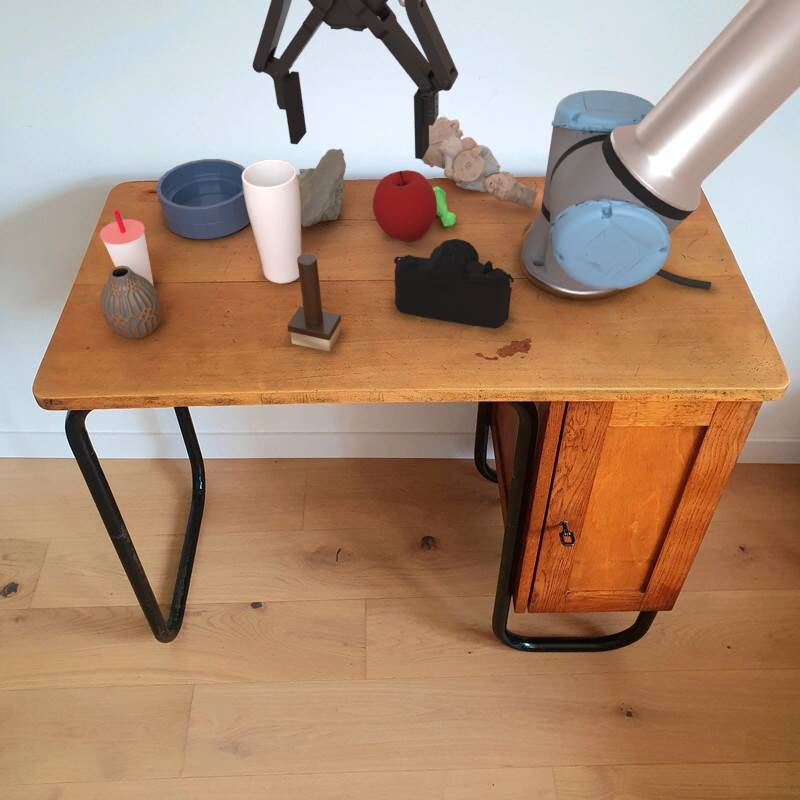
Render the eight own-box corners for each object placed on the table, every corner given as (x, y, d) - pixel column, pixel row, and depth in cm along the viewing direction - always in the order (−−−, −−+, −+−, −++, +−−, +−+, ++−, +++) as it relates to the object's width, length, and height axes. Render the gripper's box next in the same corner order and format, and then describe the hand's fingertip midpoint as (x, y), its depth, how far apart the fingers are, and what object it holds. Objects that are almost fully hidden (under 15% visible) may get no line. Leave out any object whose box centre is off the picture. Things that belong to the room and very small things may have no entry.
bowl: (271, 199, 116) (266, 166, 112) (231, 249, 108) (224, 215, 104) (192, 185, 119) (185, 153, 115) (148, 233, 111) (138, 199, 107)
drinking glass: (300, 292, 101) (287, 191, 90) (251, 285, 102) (232, 185, 91) (314, 261, 106) (304, 161, 95) (267, 255, 107) (251, 156, 96)
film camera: (517, 287, 102) (525, 229, 95) (504, 334, 95) (511, 276, 89) (406, 268, 105) (406, 211, 98) (386, 313, 98) (384, 255, 92)
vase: (99, 329, 97) (77, 273, 90) (145, 302, 100) (127, 246, 94) (132, 354, 93) (111, 298, 87) (178, 326, 97) (162, 269, 90)
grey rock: (350, 216, 119) (295, 181, 119) (376, 160, 113) (318, 123, 112) (310, 255, 109) (250, 217, 109) (338, 196, 102) (273, 154, 102)
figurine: (464, 118, 122) (550, 196, 114) (434, 164, 125) (514, 241, 118) (433, 105, 114) (522, 186, 107) (402, 153, 118) (486, 235, 111)
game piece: (413, 209, 112) (435, 236, 110) (426, 185, 110) (449, 211, 107) (435, 211, 115) (456, 237, 112) (448, 187, 113) (470, 213, 110)
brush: (342, 333, 96) (335, 253, 87) (331, 353, 93) (323, 273, 85) (301, 324, 97) (291, 244, 88) (289, 344, 94) (277, 264, 86)
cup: (152, 303, 100) (127, 224, 91) (113, 299, 101) (84, 220, 92) (167, 277, 104) (144, 199, 95) (129, 274, 104) (103, 196, 95)
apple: (447, 241, 108) (450, 177, 101) (388, 257, 106) (386, 192, 99) (421, 207, 114) (422, 145, 107) (364, 221, 112) (361, 158, 105)
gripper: (187, -82, 66) (235, 149, 81) (476, -67, 60) (468, 177, 75) (225, -107, 70) (263, 116, 86) (495, -95, 65) (484, 140, 80)
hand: (359, 145), depth 81 cm, fingers open, 13 cm apart
